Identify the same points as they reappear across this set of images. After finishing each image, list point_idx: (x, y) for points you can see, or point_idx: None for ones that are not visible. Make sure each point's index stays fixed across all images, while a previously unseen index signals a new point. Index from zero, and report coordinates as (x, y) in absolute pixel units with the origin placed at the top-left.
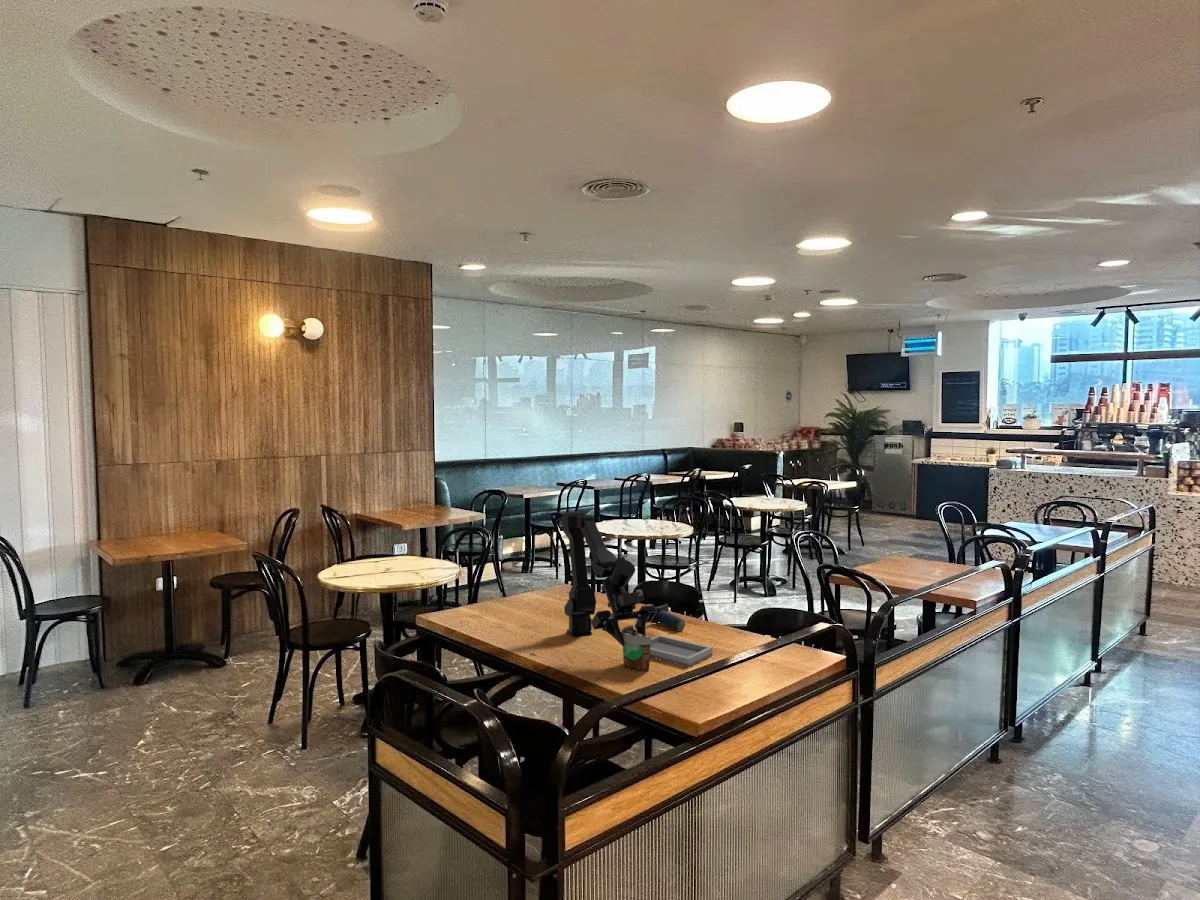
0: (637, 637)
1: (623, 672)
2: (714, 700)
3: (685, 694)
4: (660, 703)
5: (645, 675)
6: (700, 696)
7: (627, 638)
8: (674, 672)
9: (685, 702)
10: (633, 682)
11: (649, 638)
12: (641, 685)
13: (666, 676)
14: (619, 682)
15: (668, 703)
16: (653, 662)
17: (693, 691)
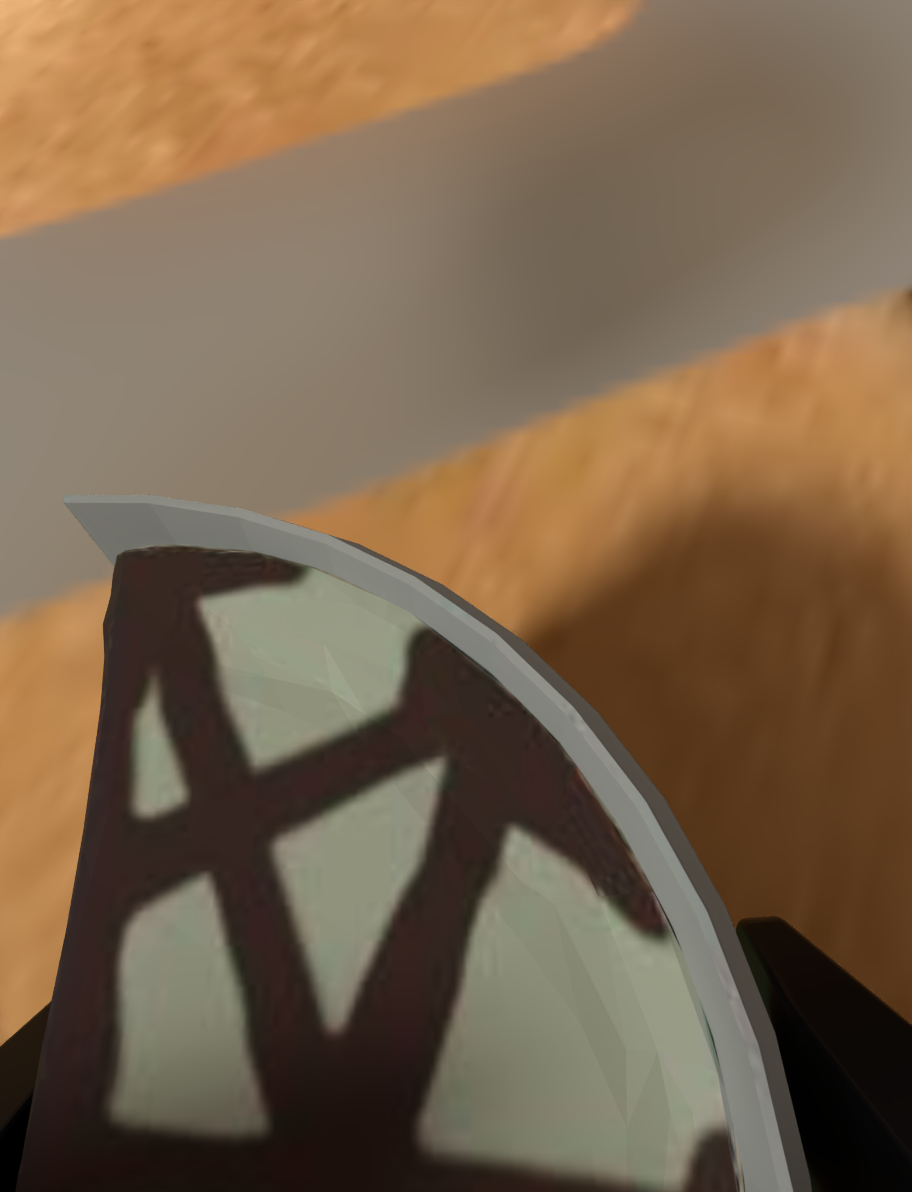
0: (446, 599)
1: None
2: (147, 9)
3: (290, 134)
4: (586, 43)
5: None
6: (198, 81)
7: (698, 860)
8: (31, 643)
9: (380, 22)
10: (658, 500)
11: (130, 515)
12: (598, 401)
13: None
14: (830, 547)
15: (521, 32)
16: None
17: (185, 168)
